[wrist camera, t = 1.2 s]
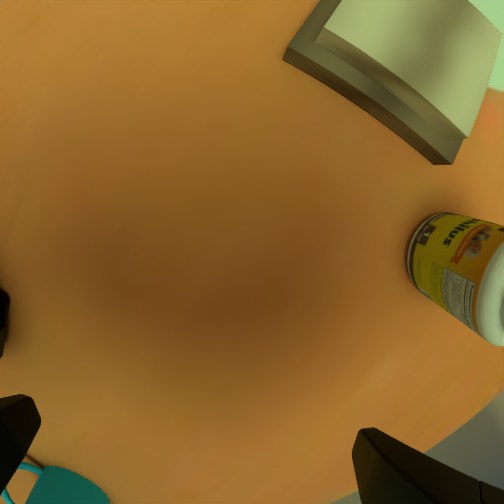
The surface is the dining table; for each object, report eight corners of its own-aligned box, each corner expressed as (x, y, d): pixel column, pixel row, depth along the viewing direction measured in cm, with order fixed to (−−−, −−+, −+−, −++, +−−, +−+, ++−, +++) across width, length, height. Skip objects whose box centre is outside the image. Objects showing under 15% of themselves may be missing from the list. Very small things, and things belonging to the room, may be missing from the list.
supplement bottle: (464, 203, 18) (586, 231, 8) (468, 281, 19) (571, 340, 9) (397, 220, 18) (522, 265, 8) (405, 304, 19) (504, 389, 9)
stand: (282, 59, 15) (294, 30, 12) (357, -44, 14) (376, -75, 10) (433, 164, 17) (473, 164, 13) (480, 50, 15) (514, 36, 11)
